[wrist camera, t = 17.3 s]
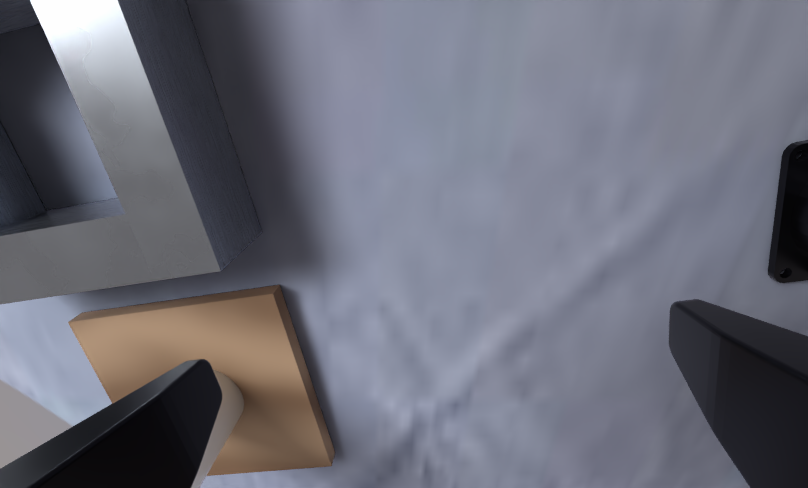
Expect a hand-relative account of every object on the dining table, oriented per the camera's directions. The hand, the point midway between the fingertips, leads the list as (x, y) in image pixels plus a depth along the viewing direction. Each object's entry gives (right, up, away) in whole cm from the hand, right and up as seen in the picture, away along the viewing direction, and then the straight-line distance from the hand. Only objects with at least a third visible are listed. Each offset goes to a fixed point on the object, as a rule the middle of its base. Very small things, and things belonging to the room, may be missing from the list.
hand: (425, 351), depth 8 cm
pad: (-12, -6, +18) cm, 22 cm away
